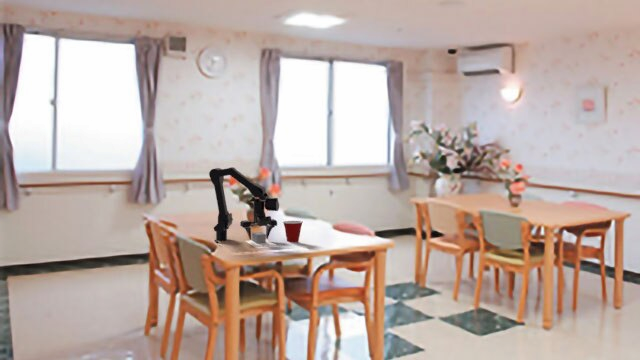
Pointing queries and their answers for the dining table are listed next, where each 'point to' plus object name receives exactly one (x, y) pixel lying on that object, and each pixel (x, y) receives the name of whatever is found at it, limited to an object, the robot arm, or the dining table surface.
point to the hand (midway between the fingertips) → (258, 239)
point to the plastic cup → (292, 230)
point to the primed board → (262, 244)
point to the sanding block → (258, 237)
